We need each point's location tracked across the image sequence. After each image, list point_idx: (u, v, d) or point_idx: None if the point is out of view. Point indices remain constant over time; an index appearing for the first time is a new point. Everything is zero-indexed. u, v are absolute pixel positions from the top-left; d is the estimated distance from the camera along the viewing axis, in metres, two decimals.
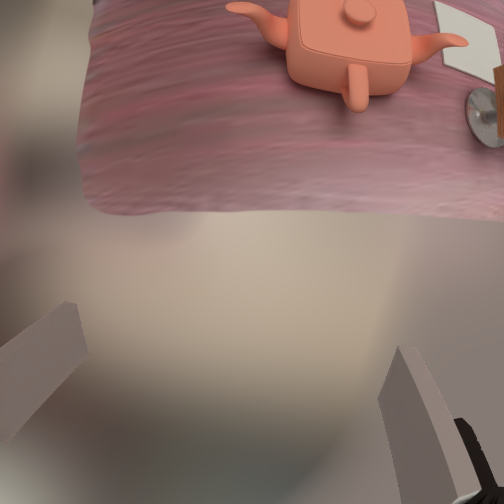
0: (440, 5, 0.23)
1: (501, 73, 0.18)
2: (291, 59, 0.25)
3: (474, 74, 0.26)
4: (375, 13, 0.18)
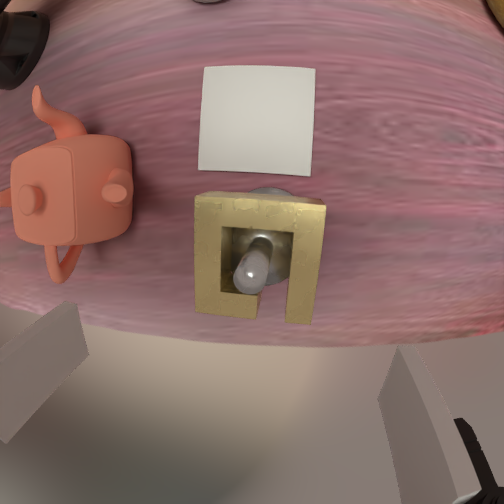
0: (213, 71, 0.27)
1: None
2: None
3: (248, 170, 0.30)
4: (33, 202, 0.22)
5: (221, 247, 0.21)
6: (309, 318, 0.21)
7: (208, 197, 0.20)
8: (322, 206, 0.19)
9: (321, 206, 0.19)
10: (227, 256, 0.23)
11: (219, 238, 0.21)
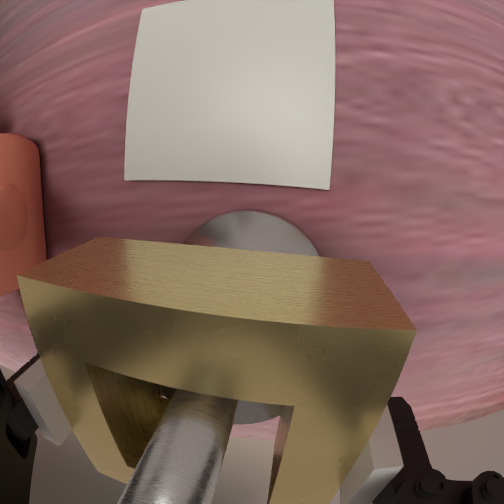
0: (155, 13, 0.13)
1: None
2: None
3: (210, 178, 0.16)
4: None
5: (102, 401, 0.07)
6: None
7: (40, 282, 0.06)
8: (403, 334, 0.05)
9: (400, 334, 0.05)
10: (141, 388, 0.09)
11: (88, 386, 0.06)
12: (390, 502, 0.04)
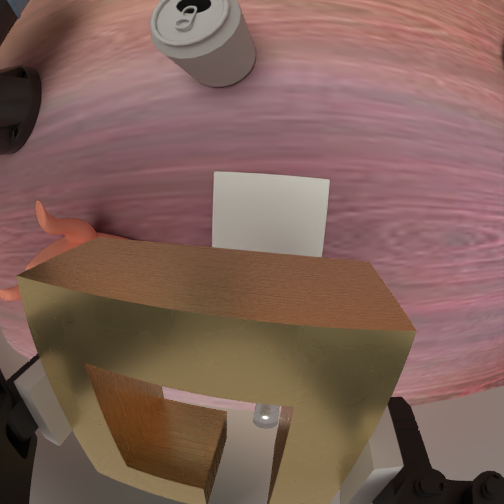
0: (223, 178, 0.30)
1: None
2: None
3: None
4: None
5: (102, 401, 0.07)
6: None
7: (40, 282, 0.06)
8: (403, 335, 0.05)
9: (400, 335, 0.05)
10: (141, 388, 0.09)
11: (88, 387, 0.06)
12: (390, 502, 0.04)
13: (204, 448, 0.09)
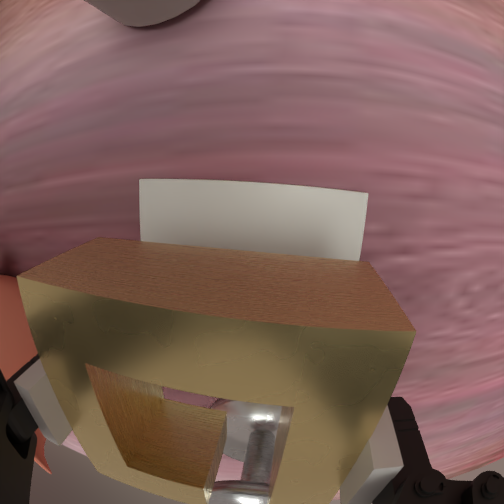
0: (156, 191, 0.15)
1: None
2: None
3: None
4: None
5: (102, 401, 0.07)
6: None
7: (40, 283, 0.06)
8: (403, 335, 0.05)
9: (400, 335, 0.05)
10: (141, 389, 0.09)
11: (88, 387, 0.06)
12: (390, 502, 0.04)
13: (204, 448, 0.09)
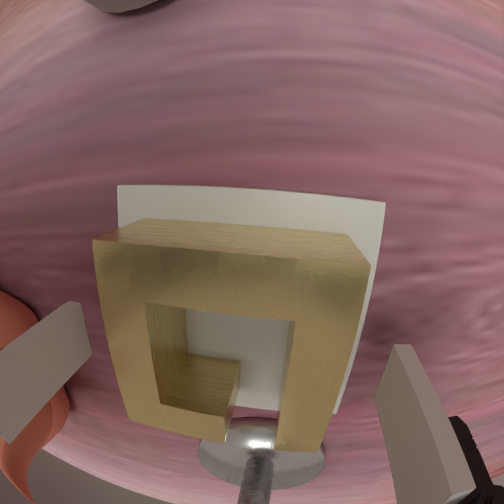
0: (135, 200, 0.13)
1: None
2: None
3: None
4: None
5: (151, 337, 0.10)
6: (316, 446, 0.10)
7: (115, 242, 0.09)
8: (362, 267, 0.08)
9: (360, 267, 0.08)
10: (174, 337, 0.12)
11: (143, 323, 0.10)
12: None
13: (224, 387, 0.12)
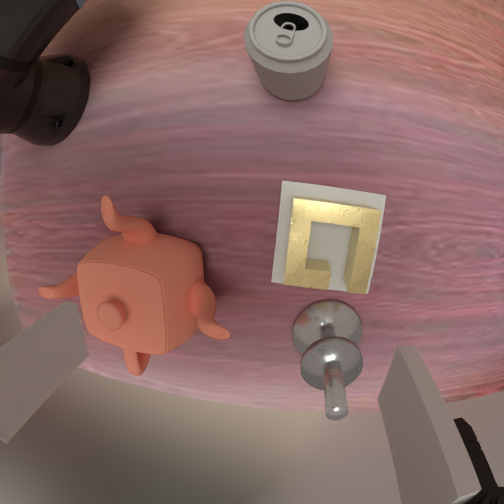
0: (291, 187, 0.32)
1: None
2: None
3: None
4: (120, 322, 0.26)
5: None
6: (365, 289, 0.29)
7: (303, 200, 0.28)
8: (379, 211, 0.27)
9: (378, 211, 0.27)
10: None
11: (308, 229, 0.29)
12: None
13: (326, 266, 0.31)
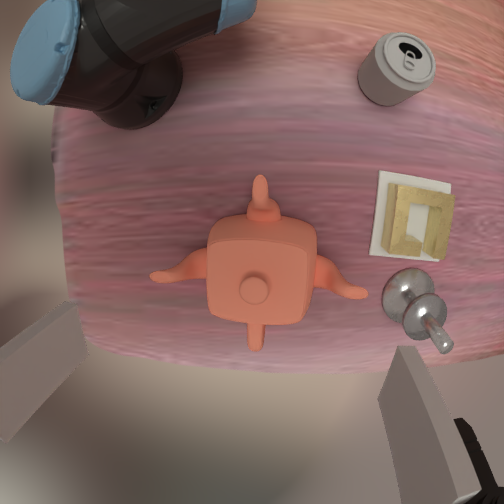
0: (386, 176, 0.36)
1: (392, 191, 0.35)
2: None
3: (403, 256, 0.39)
4: (267, 294, 0.31)
5: None
6: (444, 255, 0.34)
7: (405, 186, 0.32)
8: (453, 195, 0.32)
9: (453, 195, 0.32)
10: None
11: (408, 209, 0.33)
12: None
13: (415, 239, 0.36)
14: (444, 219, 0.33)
